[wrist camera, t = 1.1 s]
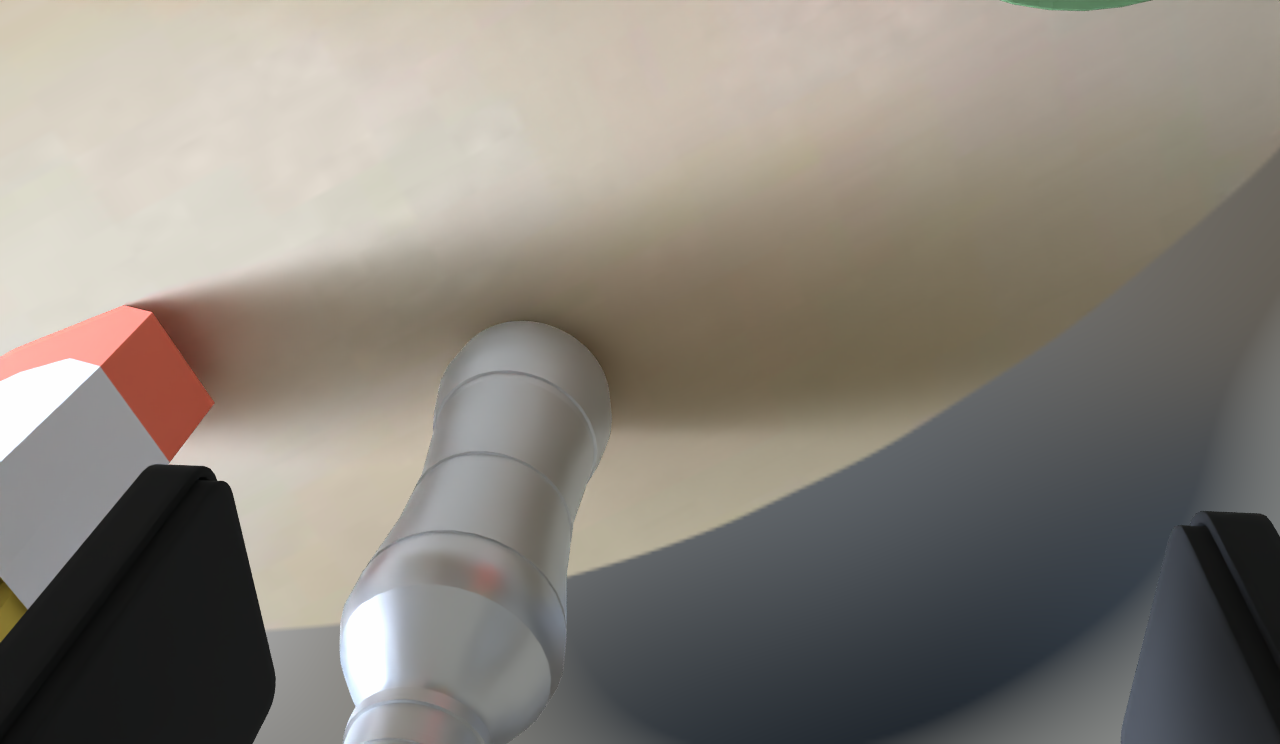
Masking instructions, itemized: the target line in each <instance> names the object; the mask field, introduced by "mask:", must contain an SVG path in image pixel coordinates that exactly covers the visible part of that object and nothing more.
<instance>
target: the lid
mask: <svg viewBox="0 0 1280 744" xmlns="http://www.w3.org/2000/svg"><path fill="white" fill-rule="evenodd" d="M1001 1H1004V2H1007V3H1011V4H1014V5H1020V6H1027V7H1033V8H1039V9H1045V10H1067V11H1089V10H1099V9H1108V8H1118V7H1124V6H1129V5H1133V4H1138V3H1142V2H1146V1H1151V0H1001Z"/></svg>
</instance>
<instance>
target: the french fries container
mask: <svg viewBox="0 0 1280 744" xmlns="http://www.w3.org/2000/svg"><path fill="white" fill-rule="evenodd" d="M213 404H214V401H213V400H212V398H211V397H210V396H209V394H208V393H207V391H206V390H205V388H204V387H203V385H202V384H201V382H200V381H199V379H198V378H197V377H196V375H195V374H194V372H193V371H192V369H191V368H190V366H189V365H188V363H187V362H186V360H185V359H184V358H183V356H182V355H181V353H180V352H179V350H178V349H177V347H176V346H175V344H174V343H173V341H172V340H171V339H170V337H169V336H168V334H167V333H166V331H165V330H164V328H163V327H162V325H161V324H160V323H159V321H158V320H157V318H156V317H155V315H154V314H153V312H150V311H145V310H141V309H137V308H133V307H129V306H125V305H123V306H121V307H118V308H116V309H113V310H111V311H108V312H106V313H103V314H101V315H98V316H96V317H93V318H91V319H88V320H86V321H83V322H81V323H78V324H76V325H73V326H70V327H68V328H65V329H63V330H60V331H58V332H55V333H53V334H50V335H48V336H45V337H43V338H40V339H38V340H35V341H33V342H30V343H28V344H25V345H23V346H20V347H18V348H15V349H13V350H12V351H10V352H8V353H6V354H5V355H3V356H1V357H0V643H1V641H2V640H3V639H4V638H5V637H6V635H7V634H8V633H9V632H10V631H11V629H12V628H13V627H14V626H15V624H16V623H17V622H18V621H19V620H20V618H21V617H22V616H23V615H24V614H25V612H26V611H27V610H28V609H29V608H30V606H31V605H32V604H33V603H34V602H35V600H36V599H37V598H38V597H39V596H40V594H41V593H42V592H43V591H44V590H45V588H46V587H47V586H48V585H49V583H50V582H51V581H52V580H53V579H54V577H55V576H56V575H57V574H58V573H59V571H60V570H61V569H62V568H63V567H64V565H65V564H66V563H67V562H68V561H69V559H70V558H71V557H72V556H73V555H74V553H75V552H76V551H77V550H78V549H79V547H80V546H81V545H82V544H83V542H84V541H85V540H86V539H87V538H88V536H89V535H90V534H91V533H92V532H93V530H94V529H95V528H96V527H97V526H98V524H99V523H100V522H101V521H102V520H103V518H104V517H105V516H106V515H107V514H108V512H109V511H110V510H111V509H112V508H113V506H114V505H115V504H116V503H117V502H118V500H119V499H120V498H121V497H122V495H123V494H124V493H125V492H126V491H127V489H128V488H129V487H130V486H131V485H132V483H133V482H134V481H135V480H136V479H137V477H138V476H139V475H140V474H141V473H142V471H143V470H145V469H146V468H147V467H148V466H150V465H154V464H165V465H168V464H169V463H170V461H171V460H172V459H173V457H174V456H175V455H176V453H177V452H178V451H179V449H180V448H181V447H182V445H183V444H184V443H185V441H186V440H187V439H188V438H189V436H190V435H191V434H192V432H193V431H194V430H195V428H196V427H197V426H198V424H199V423H200V422H201V420H202V419H203V418H204V416H205V415H206V414H207V412H208V411H209V410H210V408H211V407H212V406H213Z"/></svg>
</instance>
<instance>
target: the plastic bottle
mask: <svg viewBox="0 0 1280 744" xmlns="http://www.w3.org/2000/svg"><path fill="white" fill-rule="evenodd" d="M611 424H612V414H611V404H610V395H609V386H608V383H607V380H606V377H605V374H604V371H603V370H602V368H601V366H600V364H599V363H598V361H597V359H596V358H595V357H594V356H593V354H592V353H591V352H590V351H589V350H588V349H587V348H586V346H584V345H583V344H582V343H581V342H579V341H578V340H577V339H576V338H574V337H573V336H571V335H570V334H568V333H566V332H564V331H562V330H560V329H559V328H556V327H553V326H550V325H547V324H544V323H538V322H531V321H510V322H506V323H501V324H497V325H494V326H492V327H490V328H487V329H485V330H483V331H481V332H480V333H478V334H477V335H476V336H474V337H473V338H472V339H470V341H469V342H468V343H467V344H466V345H465V346H464V347H463V349H462V350H461V351H460V352H459V353H458V354H457V356H456V357H455V358H454V359H453V360H452V361H451V363H450V364H449V365H448V367H447V369H446V371H445V373H444V375H443V376H442V378H441V382H440V386H439V391H438V395H437V400H436V405H435V410H434V421H433V435H432V439H431V442H430V446H429V450H428V453H427V457H426V461H425V464H424V468H423V472H422V475H421V477H420V479H419V480H418V482H417V484H416V486H415V488H414V490H413V493H412V495H411V496H410V498H409V500H408V502H407V504H406V506H405V508H404V510H403V512H402V514H401V516H400V518H399V519H398V521H397V522H396V524H395V525H394V527H393V528H392V530H391V531H390V532H389V534H388V535H387V537H386V538H385V540H384V541H383V543H382V544H381V546H380V547H379V548H378V550H377V551H376V553H375V554H374V556H373V557H372V559H371V560H370V561H369V563H368V565H367V566H366V568H365V569H364V570H363V571H362V573H361V575H360V577H359V579H358V581H357V583H356V584H355V586H354V588H353V590H352V592H351V593H350V595H349V597H348V599H347V601H346V603H345V605H344V609H343V613H342V618H341V624H340V663H341V666H342V669H343V673H344V677H345V679H346V683H347V685H348V688H349V691H350V694H351V697H352V700H353V702H354V704H355V706H356V708H355V709H354V711H353V713H352V715H351V716H350V719H349V721H348V724H347V726H346V729H345V732H344V737H343V744H507V743H509V742H510V741H512V740H513V739H514V738H516V737H517V736H519V735H520V734H521V733H523V732H524V731H525V730H526V729H527V728H529V727H530V726H531V725H532V724H533V723H534V722H536V720H537V719H538V717H539V716H540V714H541V713H542V711H543V710H544V709H545V707H546V705H547V704H548V702H549V701H550V699H551V697H552V696H553V694H554V693H555V691H556V689H557V687H558V685H559V682H560V679H561V677H562V674H563V667H564V657H565V647H566V637H567V632H566V625H567V623H566V622H567V608H566V607H567V605H566V604H567V567H568V560H569V553H570V542H571V538H572V530H573V523H574V520H575V517H576V514H577V511H578V508H579V505H580V502H581V499H582V497H583V494H584V491H585V488H586V485H587V483H588V481H589V480H590V478H591V477H592V475H593V473H594V472H595V470H596V469H597V467H598V465H599V462H600V460H601V458H602V455H603V453H604V451H605V448H606V446H607V443H608V440H609V437H610V434H611Z"/></svg>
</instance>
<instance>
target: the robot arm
mask: <svg viewBox="0 0 1280 744" xmlns="http://www.w3.org/2000/svg"><path fill="white" fill-rule="evenodd" d="M275 680H276V678H275V671H274V667H273V662H272V658H271V654H270V650H269V645H268V641H267V637H266V632H265V628H264V624H263V620H262V615H261V611H260V607H259V603H258V599H257V594H256V590H255V586H254V582H253V577H252V573H251V569H250V565H249V560H248V556H247V552H246V548H245V544H244V539H243V535H242V531H241V527H240V522H239V518H238V514H237V510H236V505H235V501H234V497H233V493H232V490H231V488H230V486H229V485H228V483H226V482H224V481H217V479H216V476H215V474H214V473H213V472H212V470H211V469H210V468H207V467H205V466H187V465H165V464H154V465H150V466H148V467H147V468H146V469H145V470H143V471H142V473H141V474H140V475H139V476H138V477H137V479H136V480H135V481H134V482H133V483H132V485H131V486H130V487H129V488H128V489H127V491H126V492H125V493H124V494H123V495H122V497H121V498H120V499H119V500H118V502H117V503H116V504H115V505H114V506H113V508H112V509H111V510H110V511H109V512H108V514H107V515H106V516H105V517H104V518H103V520H102V521H101V522H100V523H99V524H98V526H97V527H96V528H95V529H94V530H93V532H92V533H91V534H90V535H89V536H88V538H87V539H86V540H85V541H84V542H83V544H82V545H81V546H80V547H79V549H78V550H77V551H76V552H75V553H74V555H73V556H72V557H71V558H70V559H69V561H68V562H67V563H66V564H65V565H64V567H63V568H62V569H61V570H60V571H59V573H58V574H57V575H56V576H55V577H54V579H53V580H52V581H51V582H50V583H49V585H48V586H47V587H46V588H45V590H44V591H43V592H42V593H41V594H40V596H39V597H38V598H37V599H36V600H35V602H34V603H33V604H32V605H31V606H30V608H29V609H28V610H27V611H26V612H25V614H24V615H23V616H22V617H21V618H20V620H19V621H18V622H17V623H16V624H15V626H14V627H13V628H12V629H11V631H10V632H9V633H8V634H7V635H6V637H5V638H4V639H3V640H2V641H1V643H0V744H252V743H253V742H254V740H255V738H256V736H257V734H258V732H259V730H260V728H261V726H262V724H263V722H264V720H265V718H266V716H267V714H268V712H269V709H270V707H271V705H272V702H273V698H274V693H275ZM1121 744H1280V536H1279V535H1278V533H1277V531H1276V529H1275V528H1274V526H1273V524H1272V523H1271V521H1270V520H1269V519H1268V518H1267V516H1265V515H1262V514H1257V513H1235V512H1234V513H1233V512H1212V511H1200V512H1198V513H1196V514H1195V516H1194V517H1193V518H1192V520H1191V523H1190V526H1184V525H1178V526H1175V527H1174V528H1173V530H1172V531H1171V534H1170V537H1169V540H1168V544H1167V549H1166V552H1165V556H1164V560H1163V564H1162V568H1161V572H1160V576H1159V580H1158V584H1157V588H1156V592H1155V596H1154V601H1153V604H1152V608H1151V612H1150V616H1149V620H1148V625H1147V628H1146V632H1145V636H1144V641H1143V644H1142V648H1141V652H1140V657H1139V661H1138V665H1137V669H1136V673H1135V677H1134V681H1133V685H1132V689H1131V693H1130V697H1129V701H1128V705H1127V709H1126V713H1125V717H1124V721H1123V725H1122V731H1121Z"/></svg>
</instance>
